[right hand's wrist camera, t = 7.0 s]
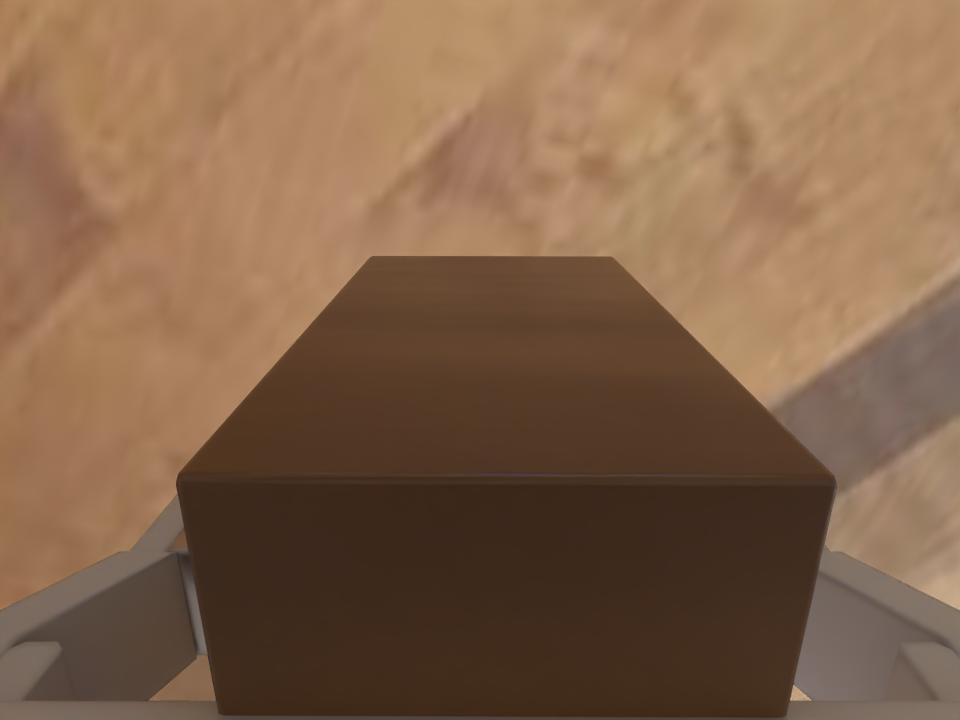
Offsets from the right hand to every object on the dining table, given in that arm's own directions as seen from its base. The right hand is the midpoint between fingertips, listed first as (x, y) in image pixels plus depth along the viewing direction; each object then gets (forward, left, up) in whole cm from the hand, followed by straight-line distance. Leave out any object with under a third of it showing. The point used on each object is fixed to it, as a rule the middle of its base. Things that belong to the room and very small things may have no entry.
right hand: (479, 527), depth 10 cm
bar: (-10, +2, -3) cm, 11 cm away
